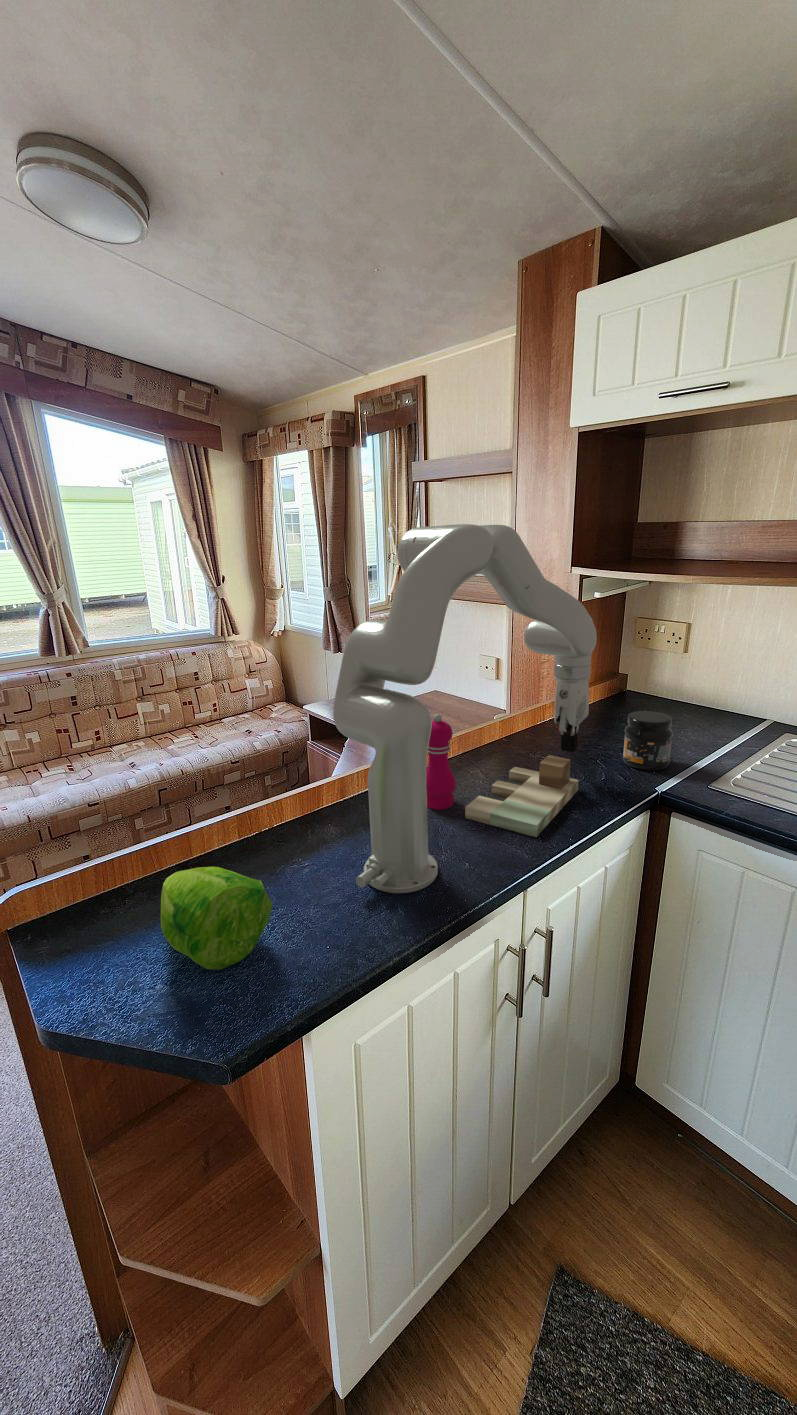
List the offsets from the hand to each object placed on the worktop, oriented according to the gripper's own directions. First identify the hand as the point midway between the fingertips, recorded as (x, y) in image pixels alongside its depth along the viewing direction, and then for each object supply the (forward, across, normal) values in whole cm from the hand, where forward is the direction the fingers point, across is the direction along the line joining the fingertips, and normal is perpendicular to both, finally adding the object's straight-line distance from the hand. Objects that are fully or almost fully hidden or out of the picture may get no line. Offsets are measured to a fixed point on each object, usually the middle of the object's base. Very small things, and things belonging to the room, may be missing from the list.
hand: (568, 749), depth 129 cm
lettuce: (+6, -81, +24) cm, 84 cm away
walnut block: (+5, -8, 0) cm, 10 cm away
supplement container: (+8, +18, -13) cm, 24 cm away
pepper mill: (+7, -26, +19) cm, 33 cm away
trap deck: (+7, -17, +4) cm, 18 cm away
